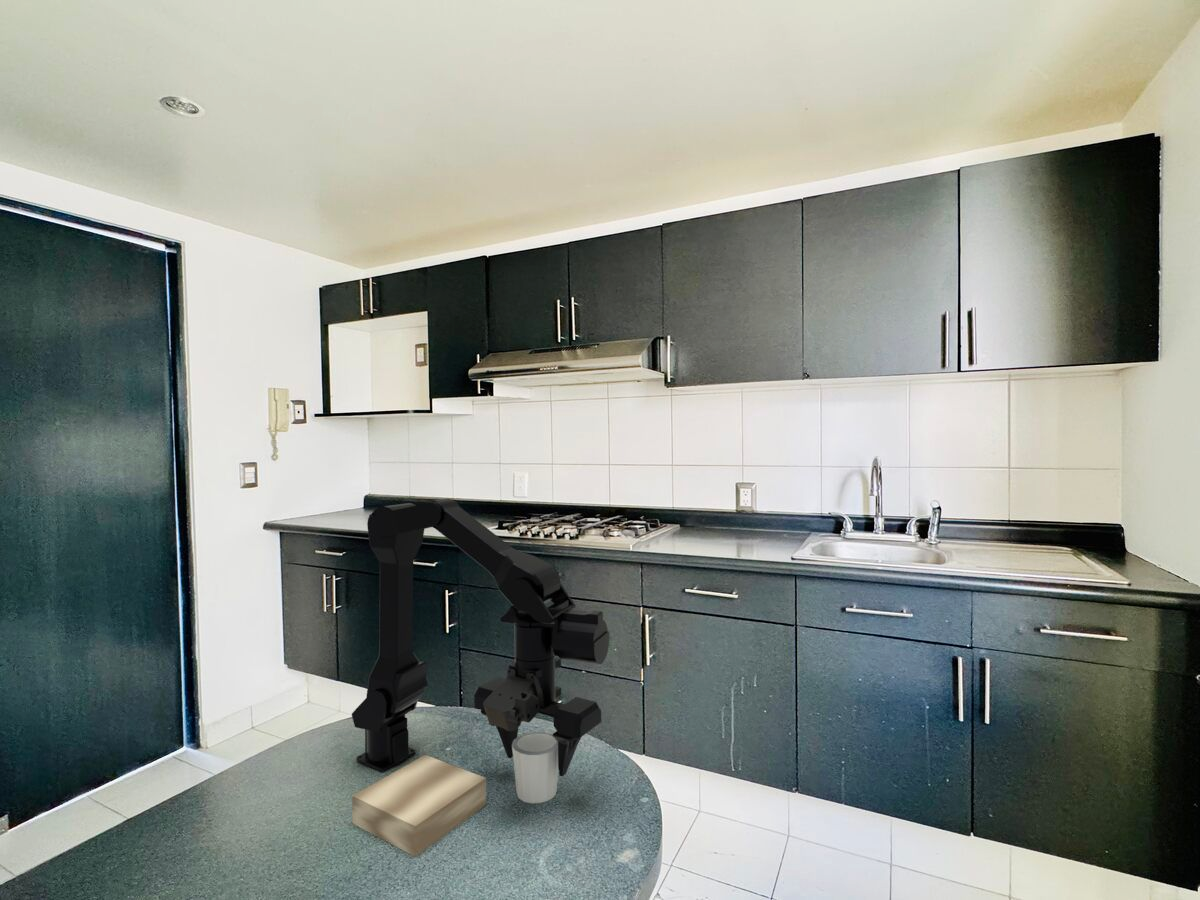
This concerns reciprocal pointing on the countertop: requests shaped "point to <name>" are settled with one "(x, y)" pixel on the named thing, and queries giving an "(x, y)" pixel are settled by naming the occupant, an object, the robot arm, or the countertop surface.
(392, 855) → the countertop surface
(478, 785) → the birch block
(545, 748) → the shot glass
